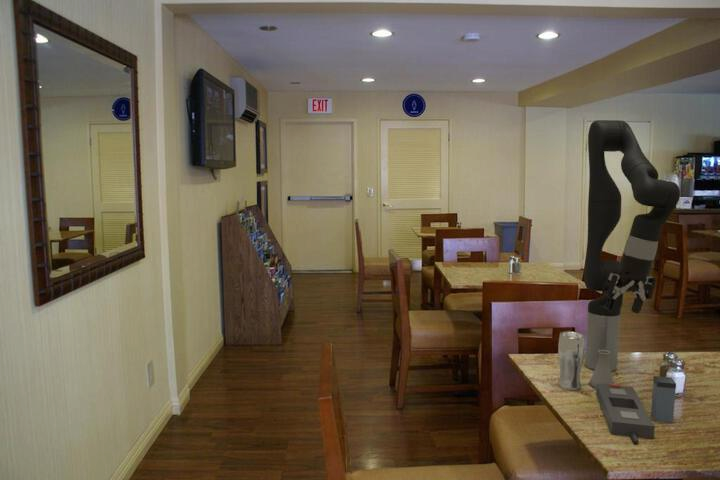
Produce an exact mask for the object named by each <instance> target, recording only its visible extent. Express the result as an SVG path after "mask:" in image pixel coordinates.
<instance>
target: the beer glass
mask: <svg viewBox="0 0 720 480" xmlns="http://www.w3.org/2000/svg"><path fill="white" fill-rule="evenodd" d="M558 338H559V339H558V346H557V348H558V349H557V350H558V352H557V353H558V363H559V378H558V382H557V384H558V387H559V388H561V389H563V390H567V391H578V390H580V389H581V388H582V384H581V383H582V382H581V373H582V367H583V363H584V360H585V350H586V337H585V335H584V333H583V334H582V333H580V332H576V331H561V332H560V333H559V337H558Z"/></svg>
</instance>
